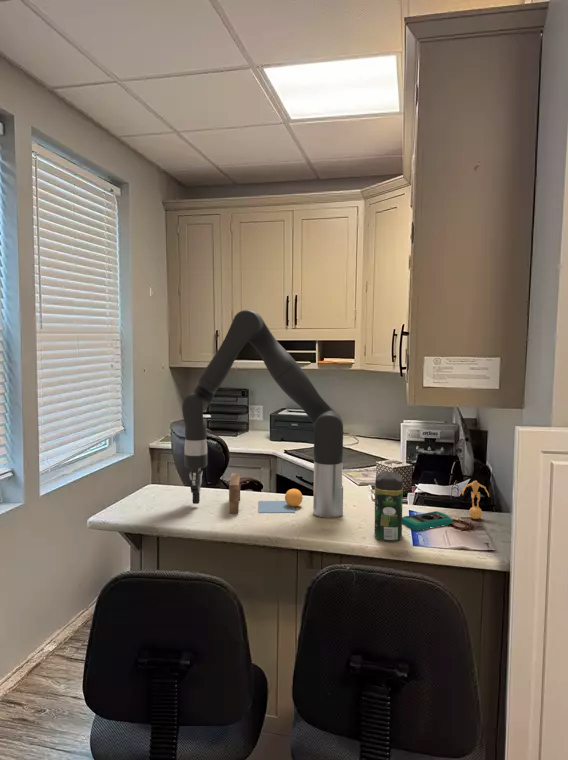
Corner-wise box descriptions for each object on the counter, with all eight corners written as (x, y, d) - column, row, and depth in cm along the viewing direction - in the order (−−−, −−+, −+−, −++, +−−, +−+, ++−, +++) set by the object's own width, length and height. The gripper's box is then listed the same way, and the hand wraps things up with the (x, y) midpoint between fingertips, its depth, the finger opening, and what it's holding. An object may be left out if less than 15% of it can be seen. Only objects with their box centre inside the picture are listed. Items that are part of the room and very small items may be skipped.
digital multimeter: (453, 525, 160) (454, 516, 160) (415, 533, 154) (415, 523, 154) (437, 518, 167) (437, 509, 167) (400, 525, 160) (400, 515, 160)
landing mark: (292, 501, 181) (292, 500, 181) (295, 512, 169) (295, 512, 169) (258, 501, 181) (258, 500, 181) (258, 512, 169) (258, 512, 169)
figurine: (462, 520, 164) (464, 482, 163) (460, 513, 170) (461, 477, 169) (490, 521, 162) (491, 484, 161) (486, 515, 168) (488, 479, 167)
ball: (305, 493, 179) (291, 483, 178) (307, 499, 173) (293, 488, 172) (294, 506, 179) (280, 496, 178) (295, 512, 173) (281, 501, 172)
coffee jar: (374, 529, 155) (376, 468, 154) (401, 531, 154) (403, 470, 152) (373, 541, 146) (374, 476, 144) (401, 544, 144) (403, 478, 143)
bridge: (240, 500, 182) (240, 473, 181) (238, 514, 167) (238, 485, 166) (231, 500, 182) (231, 473, 181) (229, 514, 167) (229, 485, 166)
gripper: (205, 456, 166) (205, 509, 167) (209, 448, 179) (209, 497, 181) (181, 456, 166) (181, 509, 167) (187, 448, 179) (187, 497, 180)
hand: (196, 503), depth 174 cm, fingers closed
